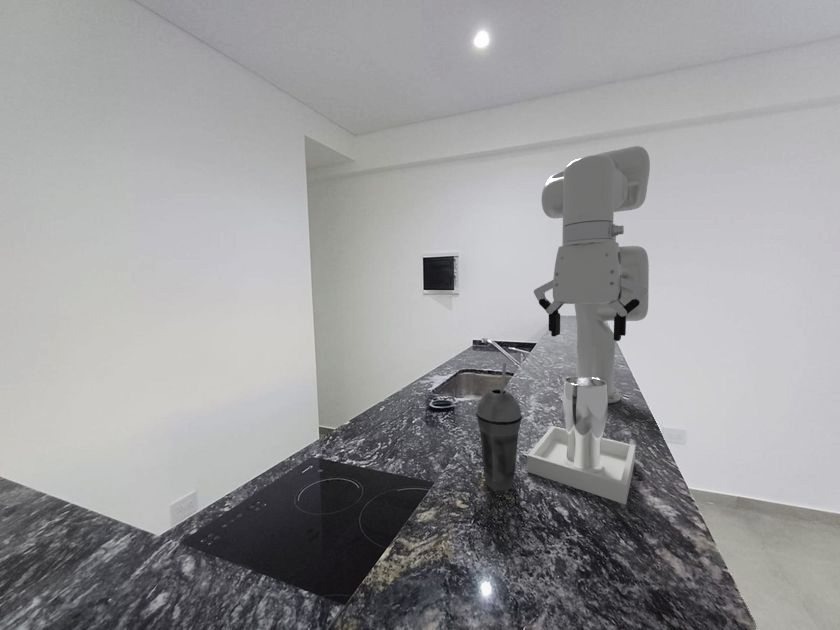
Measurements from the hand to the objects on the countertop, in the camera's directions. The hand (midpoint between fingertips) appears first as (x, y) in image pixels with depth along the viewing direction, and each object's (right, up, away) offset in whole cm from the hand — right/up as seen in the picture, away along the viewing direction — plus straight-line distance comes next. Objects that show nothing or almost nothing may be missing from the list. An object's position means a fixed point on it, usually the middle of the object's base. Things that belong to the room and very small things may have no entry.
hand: (584, 337), depth 56 cm
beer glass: (+1, -23, +2) cm, 23 cm away
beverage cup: (-15, -24, -2) cm, 29 cm away
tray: (0, -23, +2) cm, 23 cm away
